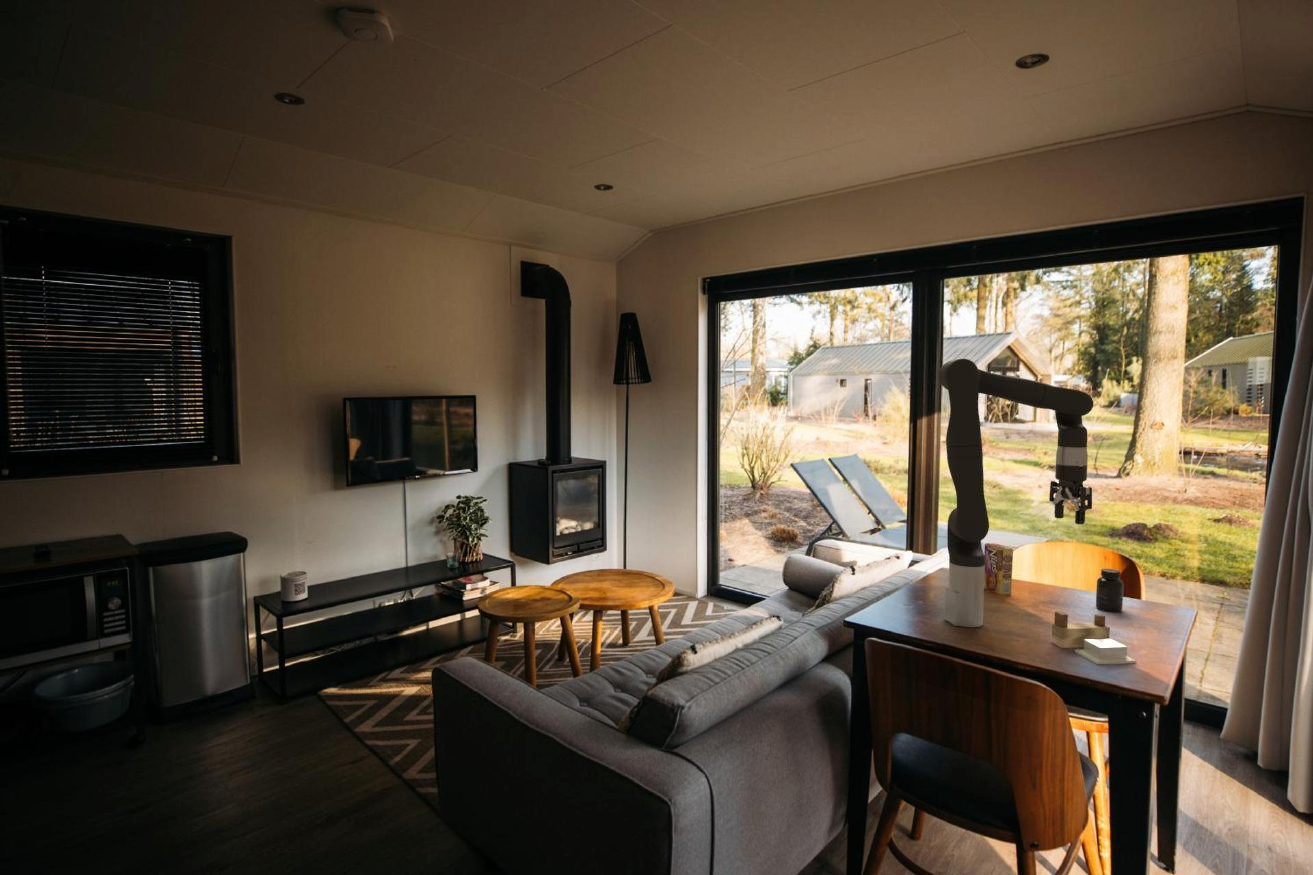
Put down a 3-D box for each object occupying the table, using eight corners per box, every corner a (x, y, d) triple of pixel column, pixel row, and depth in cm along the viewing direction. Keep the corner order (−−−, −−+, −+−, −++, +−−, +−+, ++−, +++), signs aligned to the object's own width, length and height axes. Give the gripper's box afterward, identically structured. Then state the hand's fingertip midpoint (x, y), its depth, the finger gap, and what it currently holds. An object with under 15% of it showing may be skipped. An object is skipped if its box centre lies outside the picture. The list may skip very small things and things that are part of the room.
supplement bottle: (1126, 613, 207) (1128, 573, 206) (1101, 611, 208) (1102, 572, 207) (1116, 606, 213) (1118, 567, 213) (1091, 605, 215) (1093, 566, 214)
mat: (1097, 664, 168) (1097, 661, 168) (1075, 651, 176) (1075, 649, 176) (1136, 662, 169) (1136, 660, 169) (1112, 650, 177) (1112, 648, 177)
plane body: (1061, 647, 179) (1062, 615, 178) (1051, 642, 183) (1052, 610, 182) (1108, 646, 180) (1110, 614, 179) (1097, 640, 184) (1099, 609, 183)
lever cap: (1099, 659, 170) (1100, 647, 169) (1084, 651, 175) (1084, 639, 175) (1126, 658, 170) (1127, 646, 170) (1110, 650, 176) (1110, 638, 175)
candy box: (1012, 594, 226) (1014, 548, 225) (1001, 595, 225) (1002, 549, 224) (993, 587, 234) (994, 542, 233) (982, 587, 234) (983, 543, 233)
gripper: (1042, 460, 198) (1040, 516, 200) (1076, 465, 184) (1073, 526, 185) (1067, 460, 199) (1064, 516, 200) (1102, 465, 185) (1100, 525, 186)
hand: (1069, 521), depth 193 cm, fingers open, 8 cm apart
